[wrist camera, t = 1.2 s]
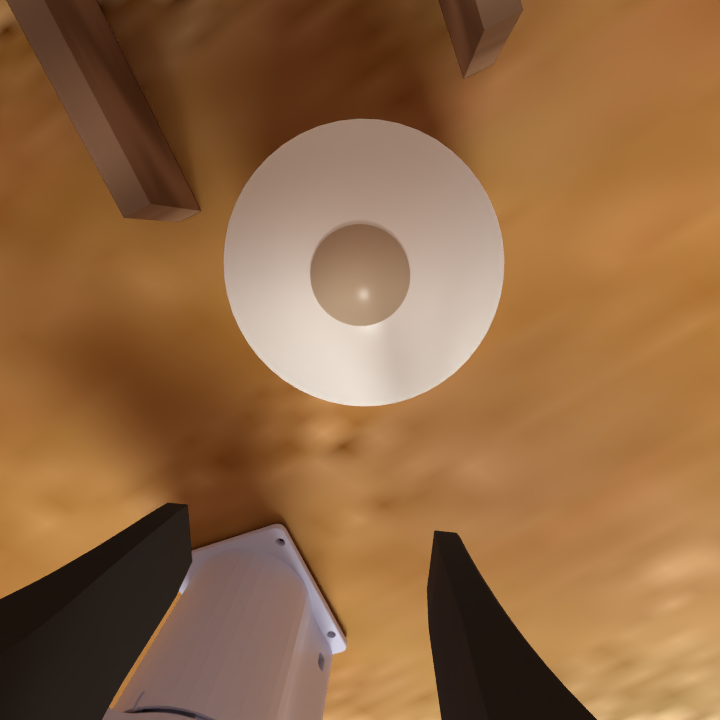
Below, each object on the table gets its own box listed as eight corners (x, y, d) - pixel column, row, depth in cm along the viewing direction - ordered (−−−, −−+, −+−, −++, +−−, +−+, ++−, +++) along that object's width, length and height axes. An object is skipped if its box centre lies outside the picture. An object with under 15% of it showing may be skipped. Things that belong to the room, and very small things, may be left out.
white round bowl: (496, 317, 19) (541, 352, 13) (323, 383, 21) (295, 440, 15) (429, 119, 17) (446, 57, 11) (242, 210, 19) (172, 198, 13)
